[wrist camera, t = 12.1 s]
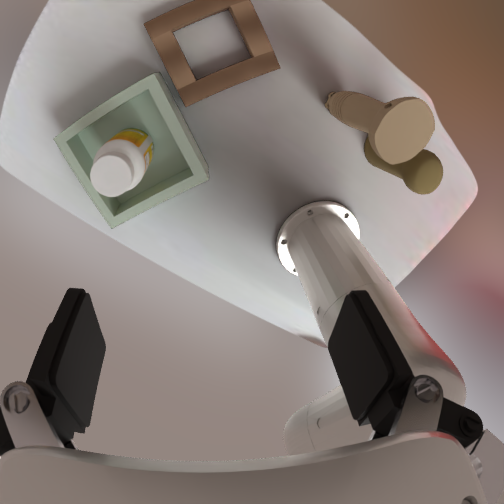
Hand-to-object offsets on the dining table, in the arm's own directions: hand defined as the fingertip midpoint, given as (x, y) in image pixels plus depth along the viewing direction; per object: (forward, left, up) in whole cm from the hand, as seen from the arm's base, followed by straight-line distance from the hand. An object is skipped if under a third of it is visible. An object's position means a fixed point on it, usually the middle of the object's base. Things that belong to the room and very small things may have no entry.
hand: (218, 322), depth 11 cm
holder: (+10, -5, -28) cm, 30 cm away
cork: (-10, -21, -28) cm, 37 cm away
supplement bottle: (+3, +8, -27) cm, 29 cm away
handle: (-2, -16, -28) cm, 33 cm away
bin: (+3, +8, -28) cm, 29 cm away
